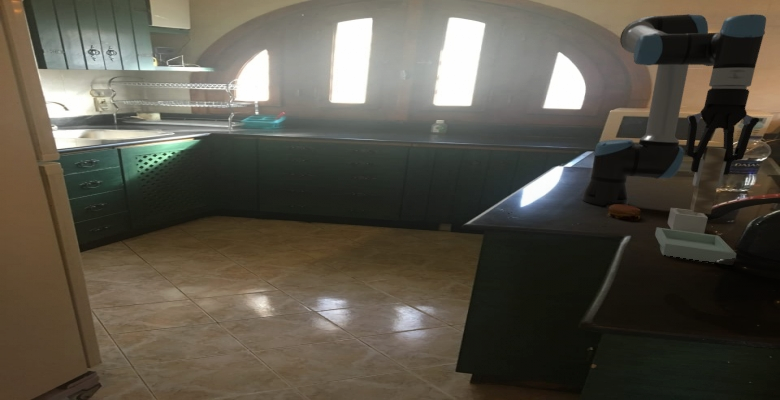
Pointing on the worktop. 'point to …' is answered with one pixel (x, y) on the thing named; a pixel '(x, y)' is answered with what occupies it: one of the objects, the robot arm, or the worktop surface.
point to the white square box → (687, 220)
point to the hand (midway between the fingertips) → (705, 186)
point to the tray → (693, 245)
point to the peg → (708, 180)
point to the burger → (624, 212)
